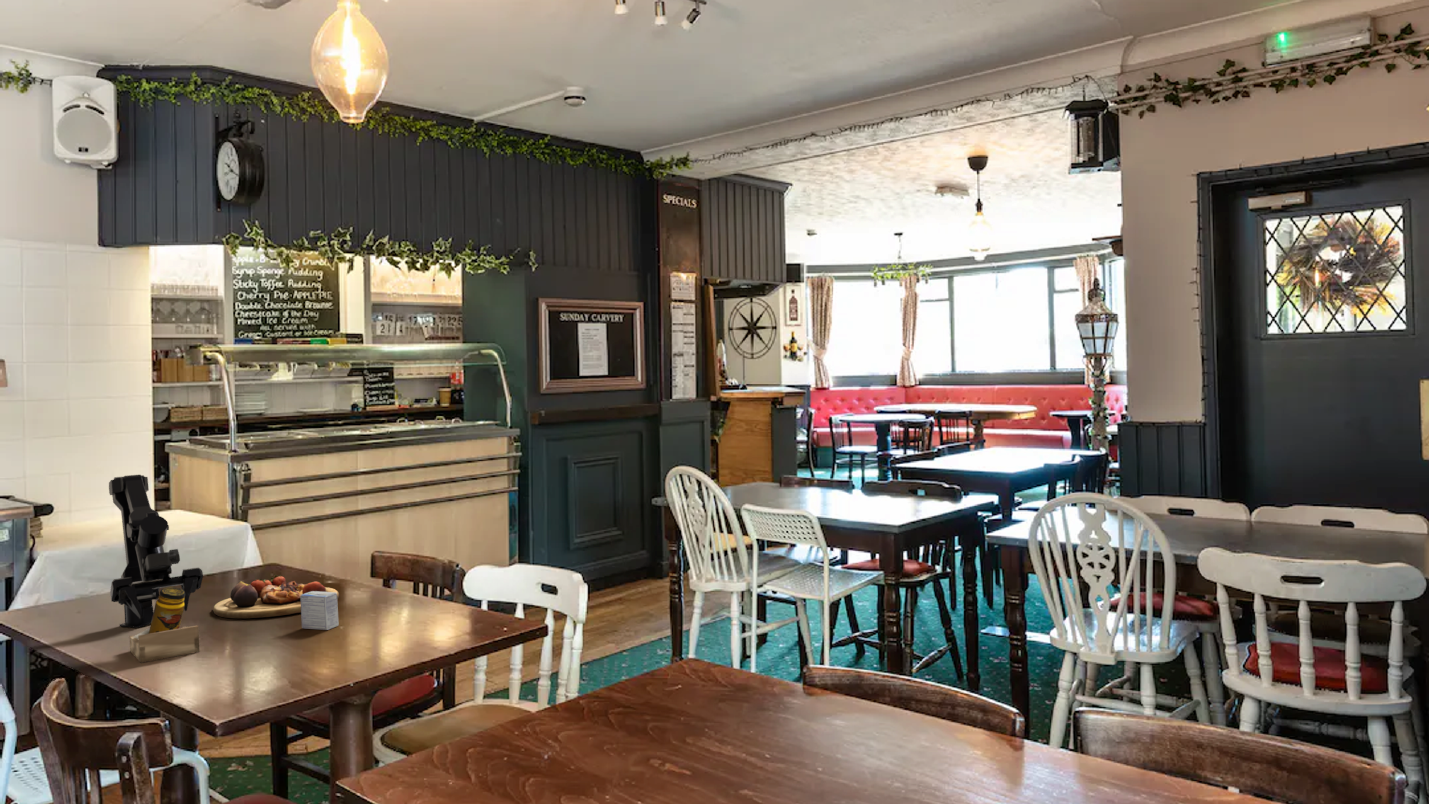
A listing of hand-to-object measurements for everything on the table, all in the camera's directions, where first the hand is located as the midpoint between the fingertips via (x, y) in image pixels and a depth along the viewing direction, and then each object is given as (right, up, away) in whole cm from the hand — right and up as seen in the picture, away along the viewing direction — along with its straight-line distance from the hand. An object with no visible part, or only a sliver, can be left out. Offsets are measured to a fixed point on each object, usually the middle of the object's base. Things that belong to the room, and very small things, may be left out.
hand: (163, 613), depth 227 cm
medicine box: (+29, -8, +19) cm, 35 cm away
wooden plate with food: (+6, -8, +45) cm, 46 cm away
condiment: (-3, -6, +2) cm, 7 cm away
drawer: (0, -9, +1) cm, 9 cm away
